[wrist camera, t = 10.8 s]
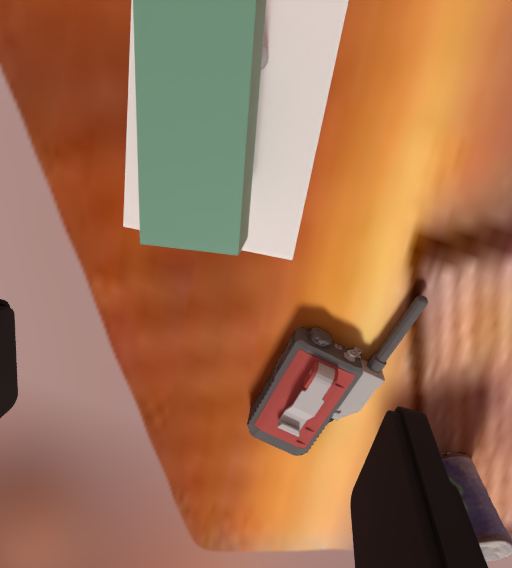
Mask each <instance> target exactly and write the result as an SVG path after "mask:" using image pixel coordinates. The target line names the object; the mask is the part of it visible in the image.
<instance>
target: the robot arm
mask: <svg viewBox="0 0 512 568" xmlns="http://www.w3.org/2000/svg"><path fill="white" fill-rule="evenodd" d="M17 396H18V387H17V363H16V341H15V319H14V311H13V310H12V309H11V308H10V305H9V304H8V302H7V301H5V300H1V299H0V418H1V417H2V416H3V415H4V414H5V413H7V412H8V411H9V410H10V409H11V408H12V407H13V405H14V404H15V402H16V399H17ZM351 519H352V532H353V545H354V558H355V568H488V566H487V563H486V561H485V558H484V556H483V553H482V550H481V548H480V545H479V542H478V540H477V537H476V534H475V532H474V529H473V527H472V524H471V521H470V519H469V516H468V513H467V511H466V508H465V506H464V503H463V500H462V498H461V495H460V493H459V491H458V489H457V487H456V486H455V485H454V484H453V483H452V482H450V480H449V477H448V474H447V472H446V469H445V466H444V464H443V461H442V458H441V455H440V453H439V450H438V447H437V444H436V442H435V439H434V436H433V433H432V431H431V428H430V425H429V422H428V420H427V417H426V415H425V414H424V413H422V412H418V411H414V410H411V409H407V408H403V407H397V408H396V409H395V411H390V410H389V411H388V412H387V413H386V415H385V417H384V419H383V421H382V424H381V426H380V428H379V431H378V433H377V435H376V437H375V440H374V442H373V444H372V447H371V449H370V451H369V454H368V456H367V458H366V461H365V463H364V465H363V468H362V470H361V472H360V474H359V477H358V479H357V481H356V484H355V486H354V488H353V491H352V495H351Z"/></svg>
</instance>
